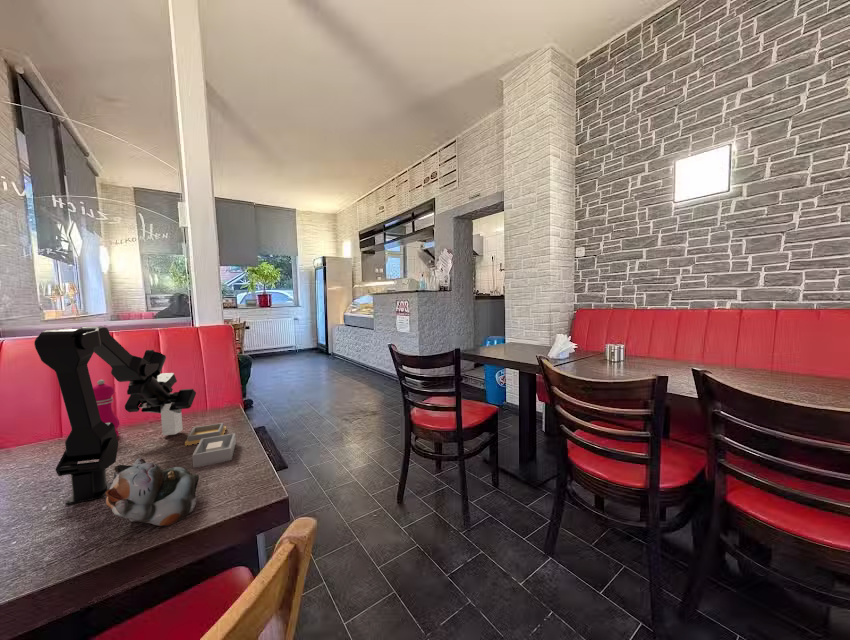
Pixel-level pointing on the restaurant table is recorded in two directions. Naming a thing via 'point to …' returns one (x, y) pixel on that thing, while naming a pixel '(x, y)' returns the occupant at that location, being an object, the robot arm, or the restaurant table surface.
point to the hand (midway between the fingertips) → (173, 412)
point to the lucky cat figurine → (152, 493)
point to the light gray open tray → (214, 450)
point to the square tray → (204, 433)
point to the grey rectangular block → (170, 420)
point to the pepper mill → (105, 403)
